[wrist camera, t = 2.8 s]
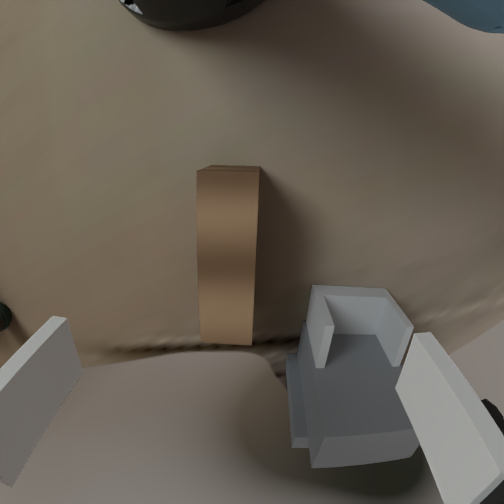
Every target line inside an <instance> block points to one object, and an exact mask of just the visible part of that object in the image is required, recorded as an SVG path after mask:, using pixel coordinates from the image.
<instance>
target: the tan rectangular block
mask: <svg viewBox="0 0 504 504" xmlns="http://www.w3.org/2000/svg"><path fill="white" fill-rule="evenodd" d="M259 181H260V167H257V166H226V165H211V166H208V167H206V168H203V169H201V170H198V171H197V259H198V291H199V314H200V334H201V342H209V343H223V344H239V345H252V333H253V316H254V296H255V274H256V251H257V228H258V205H259Z"/></svg>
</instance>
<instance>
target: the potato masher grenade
mask: <svg viewBox="0 0 504 504" xmlns="http://www.w3.org/2000/svg"><path fill="white" fill-rule="evenodd" d="M10 322H11V313H10V311H9V309H8V308H7V307H6V306H5V305H4V304H3V303H1V302H0V332H1V331H3V330H4V329H7V327H8V326H9V325H10Z"/></svg>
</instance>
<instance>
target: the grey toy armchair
mask: <svg viewBox="0 0 504 504" xmlns="http://www.w3.org/2000/svg"><path fill="white" fill-rule="evenodd" d="M413 328H414V326H413V325H412V323H411V322H410V320H409V319H408V318H407V316H406V315H405V314H404V312H403V311H402V310H401V308H400V307H399V306H398V304H397V303H396V302H395V300H394V299H393V298H392V296H391V295H390V294H389V292H388V291H387V290H386V288H366V287H347V286H329V285H312V288H311V294H310V300H309V306H308V312H307V318H306V322H303V323H302V329H301V335H300V341H299V346H298V352H297V354H287V359H286V375H287V387H288V400H289V412H290V425H291V440H292V448H309V450H310V459H311V467H312V468H324V467H340V466H351V465H361V464H369V463H376V462H384V461H390V460H397V459H402V458H408V457H411V455H412V454H413V453H414V452H415V450H416V449H417V447H418V446H419V445H420V442H419V440H418V438H417V435H416V433H415V431H414V428H413V426H412V424H411V422H410V419H409V417H408V415H407V413H406V411H405V408H404V406H403V404H402V402H401V400H400V398H399V395H398V393H397V391H396V389H395V387H396V384H397V382H398V379H399V376H400V374H401V371H402V368H403V367H402V365H401V361H402V358H403V356H404V353H405V351H406V348H407V345H408V342H409V340H410V337H411V334H412V331H413Z"/></svg>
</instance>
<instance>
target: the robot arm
mask: <svg viewBox="0 0 504 504" xmlns="http://www.w3.org/2000/svg"><path fill="white" fill-rule="evenodd" d="M119 1H120V3H121V4H122V5H123V6H124V7H125V8H126V9H127V10H128V11H129V12H130V13H131V14H133V15H134V16H135V17H136V18H137V19H139V20H141V21H142V22H144V23H146V24H148V25H151V26H154V27H157V28H162V29H167V30H181V31H183V30H197V29H204V28H209V27H213V26H217V25H220V24H224V23H226V22H229V21H232V20H234V19H236V18H238V17H241V16H242V15H244V14H246V13H248V12H250V11H251V10H253V9H254V8H256V7H257V6H258V5H260V4H261V3H262V2H263V1H264V0H119ZM423 1H425V2H427V3H428V4H430V5H432V6H433V7H435V8H437V9H439V10H440V11H442V12H443V13H445V14H447V15H448V16H450V17H451V18H453V19H454V20H456V21H458V22H459V23H461V24H463V25H465V26H467V27H470V28H472V29H476V30H479V31H483V32H488V33H504V0H423ZM82 374H83V369H82V366H81V363H80V360H79V357H78V354H77V351H76V348H75V344H74V341H73V338H72V334H71V331H70V327H69V323H68V319H67V318H63V317H57V316H52V317H51V318H50V319H49V320H48V321H47V322H46V323H45V324H44V325H43V326H42V327H41V328H40V329H39V330H38V331H37V332H36V333H35V334H34V335H33V336H32V337H30V338H29V339H28V340H27V341H26V343H25V344H24V345H23V346H22V347H21V348H20V349H19V350H18V351H17V352H16V353H15V354H14V355H13V356H12V357H11V358H10V359H9V360H8V361H7V362H6V363H5V364H4V365H3V366H2V367H1V368H0V481H1V482H2V483H4V484H6V485H7V486H9V487H11V488H12V487H13V485H14V483H15V482H16V480H17V478H18V476H19V475H20V473H21V471H22V469H23V468H24V466H25V464H26V462H27V461H28V459H29V457H30V455H31V454H32V452H33V450H34V449H35V447H36V446H37V444H38V442H39V441H40V439H41V437H42V436H43V434H44V432H45V430H46V429H47V428H48V426H49V424H50V423H51V421H52V420H53V418H54V417H55V415H56V413H57V412H58V410H59V409H60V407H61V406H62V404H63V402H64V401H65V400H66V398H67V397H68V395H69V393H70V392H71V390H72V389H73V387H74V386H75V384H76V383H77V382H78V380H79V379H80V377H81V376H82ZM395 389H396V391H397V393H398V395H399V398H400V400H401V402H402V404H403V406H404V408H405V411H406V413H407V415H408V417H409V419H410V422H411V424H412V426H413V428H414V431H415V433H416V435H417V438H418V440H419V442H420V445H421V447H422V449H423V451H424V454H425V456H426V459H427V461H428V464H429V466H430V469H431V471H432V473H433V476H434V478H435V481H436V484H437V486H438V489H439V492H440V494H441V497H442V499H443V502H444V504H504V419H503V416H502V414H501V413H500V412H499V410H498V409H497V407H496V406H494V405H493V404H492V403H491V402H489V401H488V400H487V399H484V400H480V399H479V397H478V396H477V394H476V393H475V392H474V390H473V389H472V387H471V386H470V384H469V383H468V381H467V380H466V379H465V377H464V376H463V375H462V373H461V372H460V370H459V369H458V368H457V366H456V365H455V364H454V362H453V361H452V360H451V358H450V357H449V356H448V354H447V353H446V352H445V350H444V349H443V348H442V346H441V345H440V344H439V342H438V341H437V340H436V339H435V337H434V336H433V335H432V333H431V332H426V333H414V335H413V338H412V341H411V345H410V348H409V351H408V354H407V357H406V360H405V363H404V365H403V368H402V371H401V374H400V376H399V379H398V382H397V384H396V387H395Z"/></svg>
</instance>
